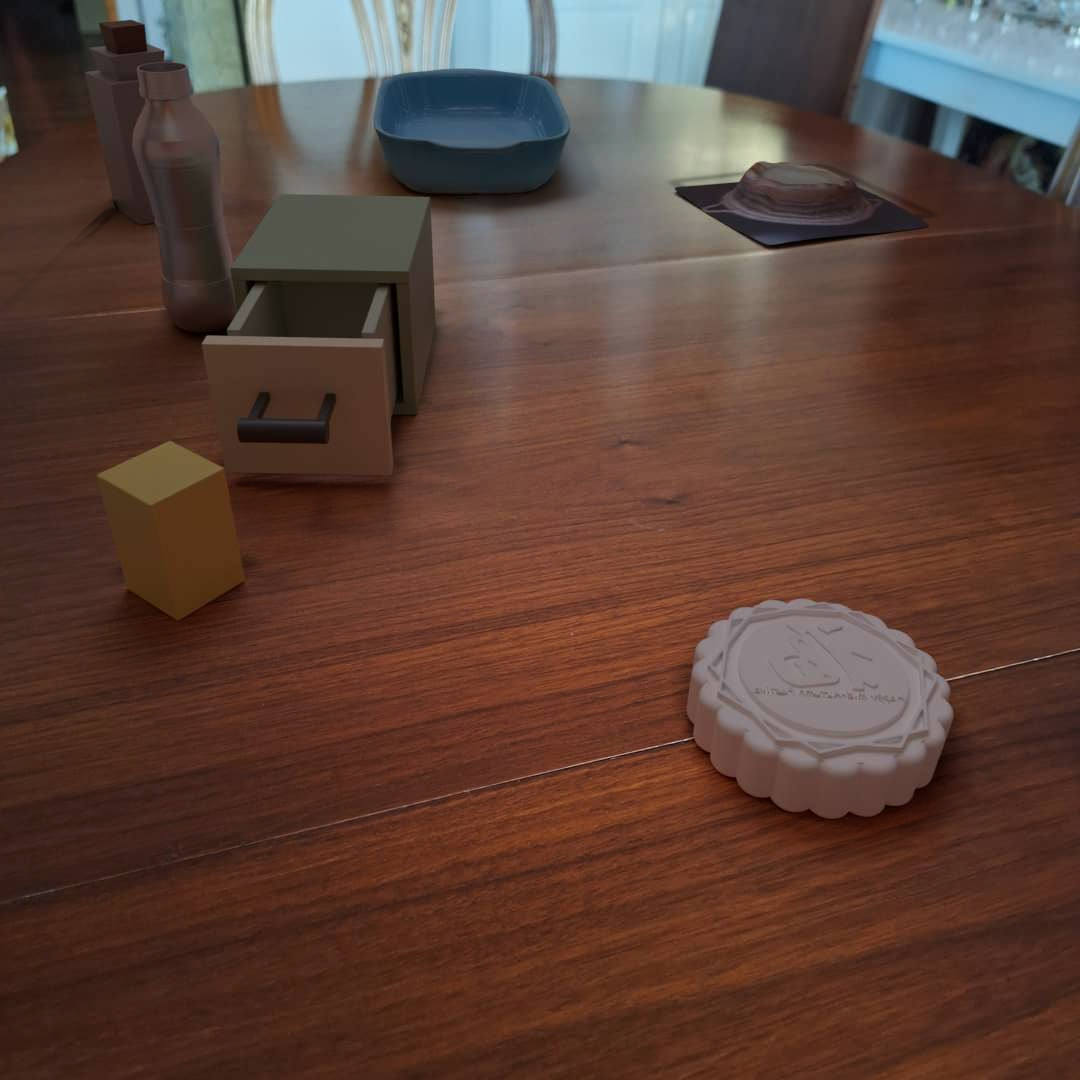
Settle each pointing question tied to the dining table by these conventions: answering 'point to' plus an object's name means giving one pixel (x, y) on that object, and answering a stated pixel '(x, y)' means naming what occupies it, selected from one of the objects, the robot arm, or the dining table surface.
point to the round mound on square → (798, 205)
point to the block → (173, 528)
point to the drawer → (307, 379)
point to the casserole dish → (470, 130)
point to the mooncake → (818, 707)
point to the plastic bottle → (184, 199)
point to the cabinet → (353, 262)
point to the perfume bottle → (121, 110)
